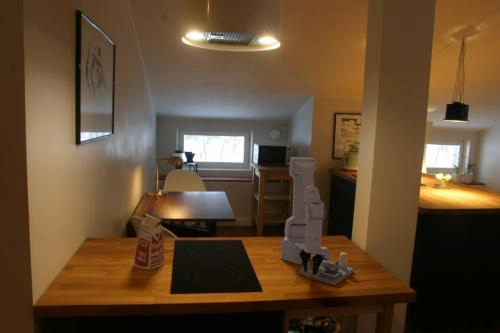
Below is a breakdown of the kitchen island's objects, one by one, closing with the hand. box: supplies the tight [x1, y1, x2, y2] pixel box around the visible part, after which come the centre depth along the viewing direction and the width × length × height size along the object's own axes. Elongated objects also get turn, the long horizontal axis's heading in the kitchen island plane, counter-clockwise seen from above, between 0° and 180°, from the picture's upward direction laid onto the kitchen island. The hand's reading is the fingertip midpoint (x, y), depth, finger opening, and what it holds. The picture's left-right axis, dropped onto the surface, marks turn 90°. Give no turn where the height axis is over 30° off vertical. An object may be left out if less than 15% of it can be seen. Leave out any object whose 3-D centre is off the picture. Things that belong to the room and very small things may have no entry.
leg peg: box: [305, 259, 315, 279], centre depth 134 cm, size 3×3×6 cm
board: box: [298, 246, 354, 286], centre depth 144 cm, size 15×17×8 cm
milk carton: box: [132, 213, 166, 271], centre depth 144 cm, size 9×9×20 cm
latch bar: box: [320, 260, 341, 270], centre depth 142 cm, size 9×2×2 cm, turn 65°
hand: (310, 272), depth 134 cm, fingers closed on leg peg, 3 cm apart
